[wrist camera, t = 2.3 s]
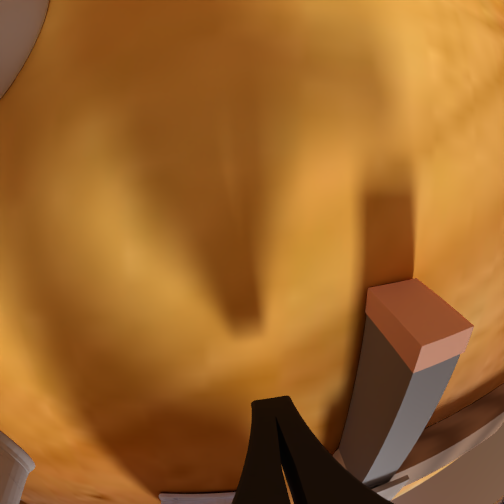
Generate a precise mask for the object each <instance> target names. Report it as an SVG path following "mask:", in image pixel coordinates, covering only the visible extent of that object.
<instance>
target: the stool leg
mask: <svg viewBox="0 0 504 504" xmlns="http://www.w3.org/2000/svg"><path fill="white" fill-rule="evenodd" d="M365 313H366V314H367V316H366V324H365V330H364V337H363V343H362V349H361V355H360V360H359V366H358V371H357V376H356V381H355V385H354V390H353V395H352V399H351V403H350V408H349V412H348V416H347V420H346V424H345V427H344V431H343V435H342V438H341V442H340V446H339V449H338V450H337V451H335V453H334V454H333V457H334V458H335V459H336V460H337V461H338V462H339V463H340V464H341V465H342V466H343V467H344V468H345V469H346V470H347V471H349V472H350V473H351V474H352V475H353V476H354V477H356V478H357V479H358V480H359V481H360V482H362V483H363V484H364V485H366V486H367V487H369V488H370V489H373V488H376V487H379V486H381V485H384V484H386V483H389V482H391V481H390V480H391V479H392V477H393V476H394V474H395V473H396V472H397V470H398V469H399V467H400V466H401V465H402V463H403V462H404V460H405V459H406V457H407V456H408V454H409V453H410V451H411V450H412V448H413V446H414V445H415V443H416V442H417V440H418V438H419V437H420V435H421V433H422V432H423V430H424V428H425V427H426V425H427V423H428V421H429V419H430V418H431V416H432V414H433V412H434V410H435V408H436V406H437V404H438V402H439V401H440V399H441V397H442V394H443V392H444V390H445V388H446V386H447V384H448V382H449V380H450V377H451V375H452V373H453V371H454V368H455V366H456V363H457V361H458V359H459V356H460V354H461V353H463V352H465V349H466V347H467V344H468V342H469V339H470V336H471V333H472V331H473V328H474V326H473V325H472V324H471V323H470V322H469V321H468V320H467V319H465V318H464V317H463V316H462V315H461V314H460V313H458V312H457V311H456V310H455V309H454V308H453V307H451V306H450V305H449V304H448V303H447V302H445V301H444V300H443V299H442V298H441V297H439V296H438V295H437V294H436V293H434V292H433V291H432V290H431V289H429V288H428V287H427V286H426V285H424V284H423V283H422V282H421V281H419V280H418V279H417V278H415V279H410V280H405V281H401V282H396V283H391V284H386V285H381V286H376V287H370V288H368V292H367V301H366V309H365Z"/></svg>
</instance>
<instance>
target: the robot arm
mask: <svg viewBox="0 0 504 504" xmlns="http://www.w3.org/2000/svg"><path fill="white" fill-rule="evenodd" d="M251 406H252V424H251V433H250V439H249V445H248V451H247V456H246V460H245V464H244V467H243V471H242V475H241V478H240V481H239V484H238V487H237V490H236V492H228V493H211V494H164V493H161V494H159V499H160V500H161V504H291V503H290V500H289V496H288V492H287V488H286V484H285V480H284V476H283V472H282V468H283V471H284V474H285V477H286V480H287V483H288V486H289V489H290V492H291V494H292V498H293V501H294V504H394V503H392V502H390V501H388V500H387V499H385V498H383V497H382V496H380V495H379V494H377V493H376V492H374V491H373V490H372V489H370V488H369V487H367V486H366V485H364V484H363V483H362V482H360V481H359V480H358V479H357V478H356V477H354V476H353V475H352V474H351V473H350V472H349V471H347V470H346V469H345V468H344V467H343V466H342V465H341V464H340V463H339V462H338V461H337V460H336V459H335V458H334V457H333V456H332V455H331V454H330V453H329V452H328V451H327V450H326V448H325V447H324V446H323V445H322V444H321V443H320V441H319V440H318V439H317V438H316V436H315V435H314V434H313V433H312V431H311V430H310V429H309V427H308V426H307V425H306V423H305V422H304V420H303V419H302V417H301V416H300V414H299V412H298V411H297V409H296V407H295V406H294V404H293V402H292V400H291V398H290V397H289V396H281V397H275V398H269V399H262V400H255V401H253V402H252V403H251ZM281 464H282V466H281ZM494 504H504V496H502V497H501V498H500V499H499V500H497V501H496V502H495V503H494Z"/></svg>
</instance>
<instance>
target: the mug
mask: <svg viewBox="0 0 504 504" xmlns="http://www.w3.org/2000/svg"><path fill="white" fill-rule="evenodd" d="M48 4H49V0H0V99H1V97H2V96H3V95H4V93H5V92H6V91H7V90H8V88H9V87H10V85H11V84H12V82H13V81H14V80H15V78H16V76H17V75H18V73H19V72H20V70H21V69H22V67H23V65H24V63H25V61H26V60H27V58H28V56H29V54H30V52H31V50H32V48H33V46H34V44H35V42H36V40H37V37H38V35H39V33H40V31H41V28H42V25H43V23H44V20H45V16H46V13H47V9H48Z"/></svg>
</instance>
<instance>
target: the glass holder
mask: <svg viewBox="0 0 504 504" xmlns="http://www.w3.org/2000/svg"><path fill="white" fill-rule="evenodd" d="M34 468H35V464H34V462H33V460H32V459H31V458H30V457H29V456H28V454H27V453H26V452H25V451H24V450H23V449H21V448H20V447H19V446H18V445H17V444H16V443H15V442H13V441H12V440H11V439H10V438H9V437H7V436H6V435H5V434H3V433H2V432H1V431H0V504H19V502H20V499H21V495H22V492H23V488H24V485H25V482H26V479H27V475H28V474H29V472H31V471H32V470H33V469H34Z"/></svg>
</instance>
